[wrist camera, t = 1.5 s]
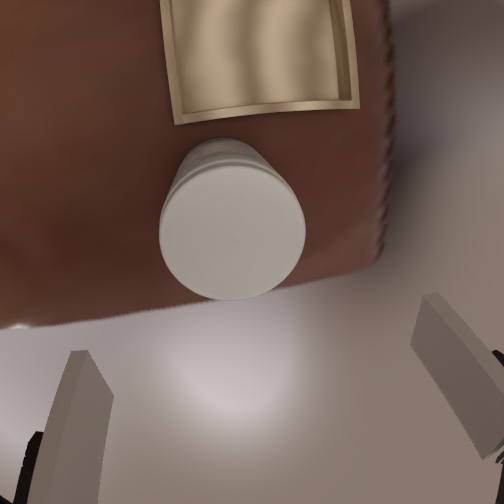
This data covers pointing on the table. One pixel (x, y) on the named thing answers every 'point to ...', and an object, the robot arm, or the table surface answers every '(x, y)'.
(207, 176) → the supplement tub
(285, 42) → the caddy
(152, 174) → the table surface
